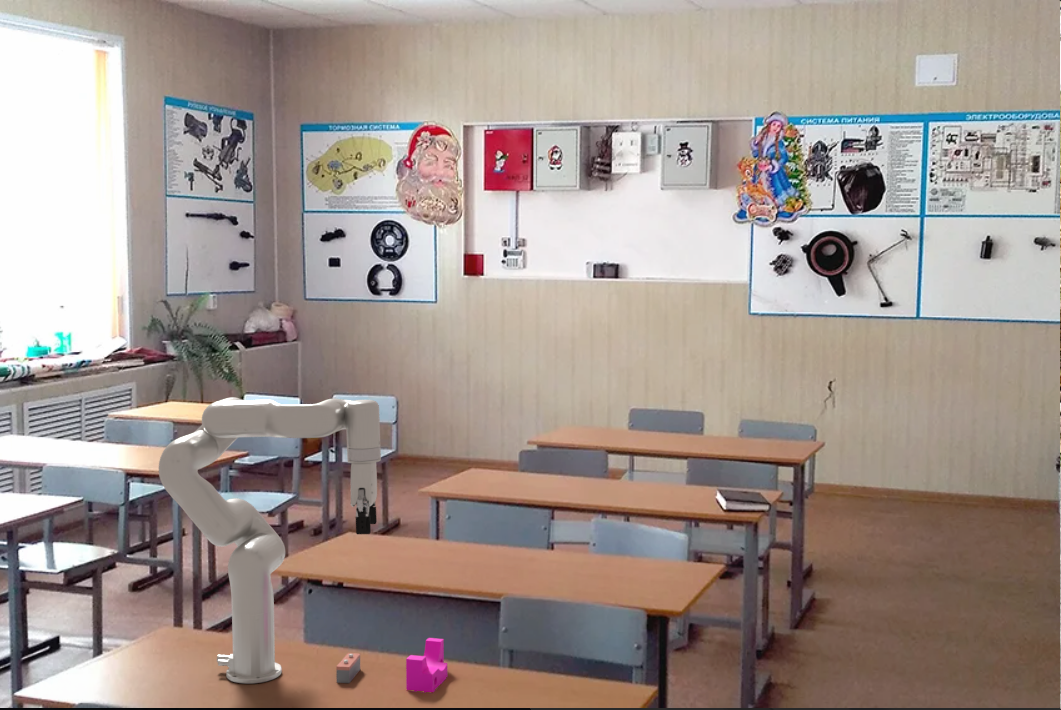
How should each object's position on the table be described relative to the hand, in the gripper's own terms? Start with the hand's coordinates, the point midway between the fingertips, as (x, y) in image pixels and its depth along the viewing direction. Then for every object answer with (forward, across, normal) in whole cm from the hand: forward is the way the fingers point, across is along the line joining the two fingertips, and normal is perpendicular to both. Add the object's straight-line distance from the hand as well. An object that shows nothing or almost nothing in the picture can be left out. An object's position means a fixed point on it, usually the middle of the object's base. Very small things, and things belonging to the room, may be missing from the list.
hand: (366, 528), depth 264 cm
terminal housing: (+35, -3, -6) cm, 36 cm away
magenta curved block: (+36, -1, +14) cm, 39 cm away
